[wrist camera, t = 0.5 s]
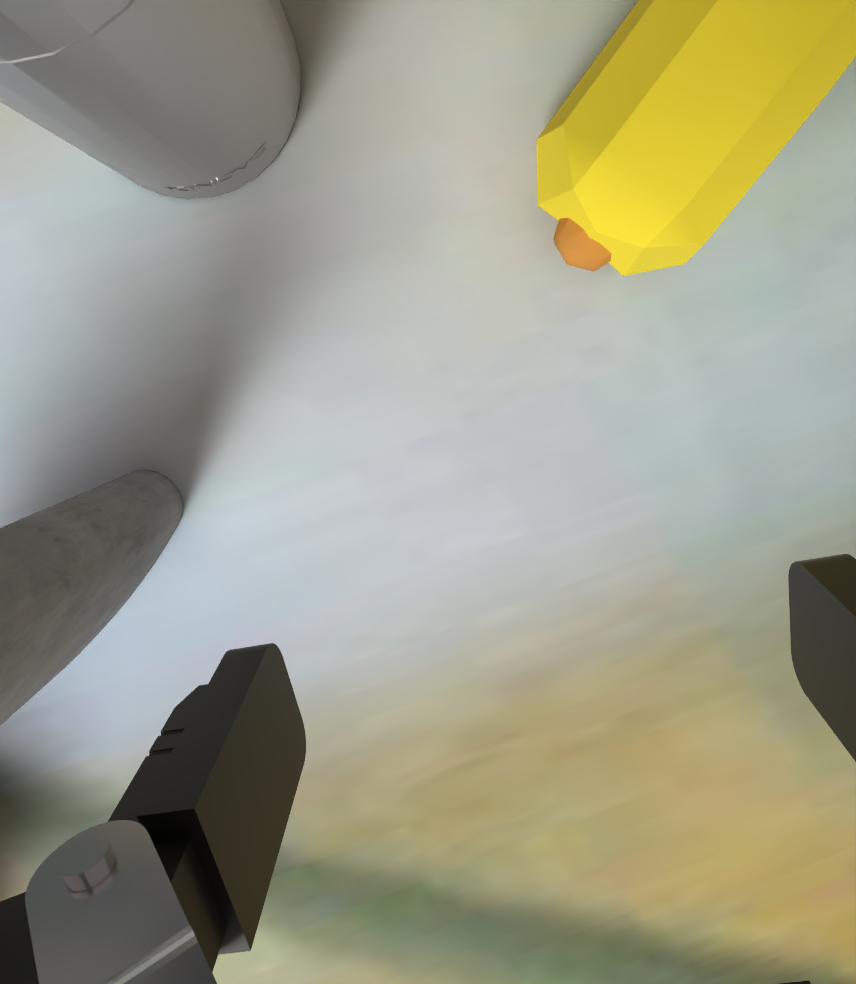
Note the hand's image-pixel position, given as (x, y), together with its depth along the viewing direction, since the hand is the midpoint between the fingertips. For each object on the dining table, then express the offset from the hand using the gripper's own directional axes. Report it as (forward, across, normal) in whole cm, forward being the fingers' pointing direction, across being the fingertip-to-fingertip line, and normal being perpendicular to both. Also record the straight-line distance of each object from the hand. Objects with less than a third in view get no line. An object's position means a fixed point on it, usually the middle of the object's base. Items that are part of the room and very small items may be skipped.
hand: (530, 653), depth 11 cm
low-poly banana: (+24, -11, -10) cm, 28 cm away
